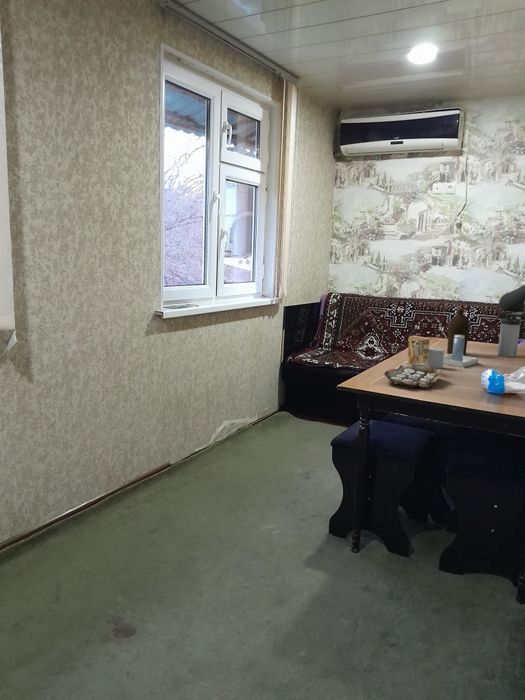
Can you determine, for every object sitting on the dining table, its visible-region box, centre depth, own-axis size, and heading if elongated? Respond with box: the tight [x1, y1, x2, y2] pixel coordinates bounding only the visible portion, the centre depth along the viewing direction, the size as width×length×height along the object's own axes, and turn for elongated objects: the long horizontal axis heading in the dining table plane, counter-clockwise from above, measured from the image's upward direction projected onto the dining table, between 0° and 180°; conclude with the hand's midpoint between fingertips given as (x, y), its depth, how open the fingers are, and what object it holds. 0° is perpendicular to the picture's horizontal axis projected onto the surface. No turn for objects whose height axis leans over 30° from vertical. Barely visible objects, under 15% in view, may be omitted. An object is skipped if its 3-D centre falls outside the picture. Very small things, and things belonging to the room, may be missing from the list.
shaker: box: [452, 335, 465, 362], centre depth 258 cm, size 5×5×13 cm
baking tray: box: [383, 363, 445, 389], centre depth 219 cm, size 30×22×5 cm
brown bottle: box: [446, 306, 471, 356], centre depth 281 cm, size 11×11×25 cm
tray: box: [443, 354, 479, 368], centre depth 259 cm, size 16×14×2 cm
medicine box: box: [428, 347, 445, 369], centre depth 248 cm, size 8×4×9 cm, turn 65°
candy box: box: [406, 335, 431, 365], centre depth 240 cm, size 9×4×15 cm, turn 33°
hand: (502, 314), depth 241 cm, fingers open, 8 cm apart
